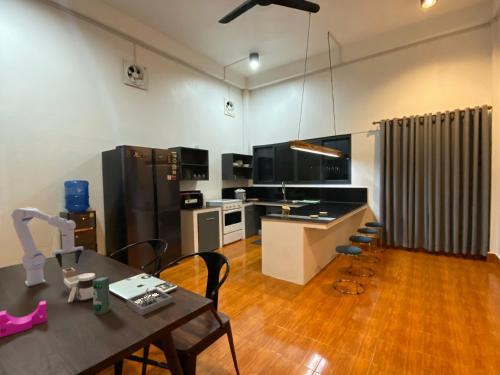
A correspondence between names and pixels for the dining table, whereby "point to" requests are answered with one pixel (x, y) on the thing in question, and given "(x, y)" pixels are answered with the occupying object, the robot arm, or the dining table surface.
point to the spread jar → (83, 288)
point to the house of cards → (150, 299)
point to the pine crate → (68, 273)
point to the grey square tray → (146, 309)
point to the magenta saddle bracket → (21, 320)
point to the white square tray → (72, 281)
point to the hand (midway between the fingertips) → (68, 264)
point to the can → (101, 295)
